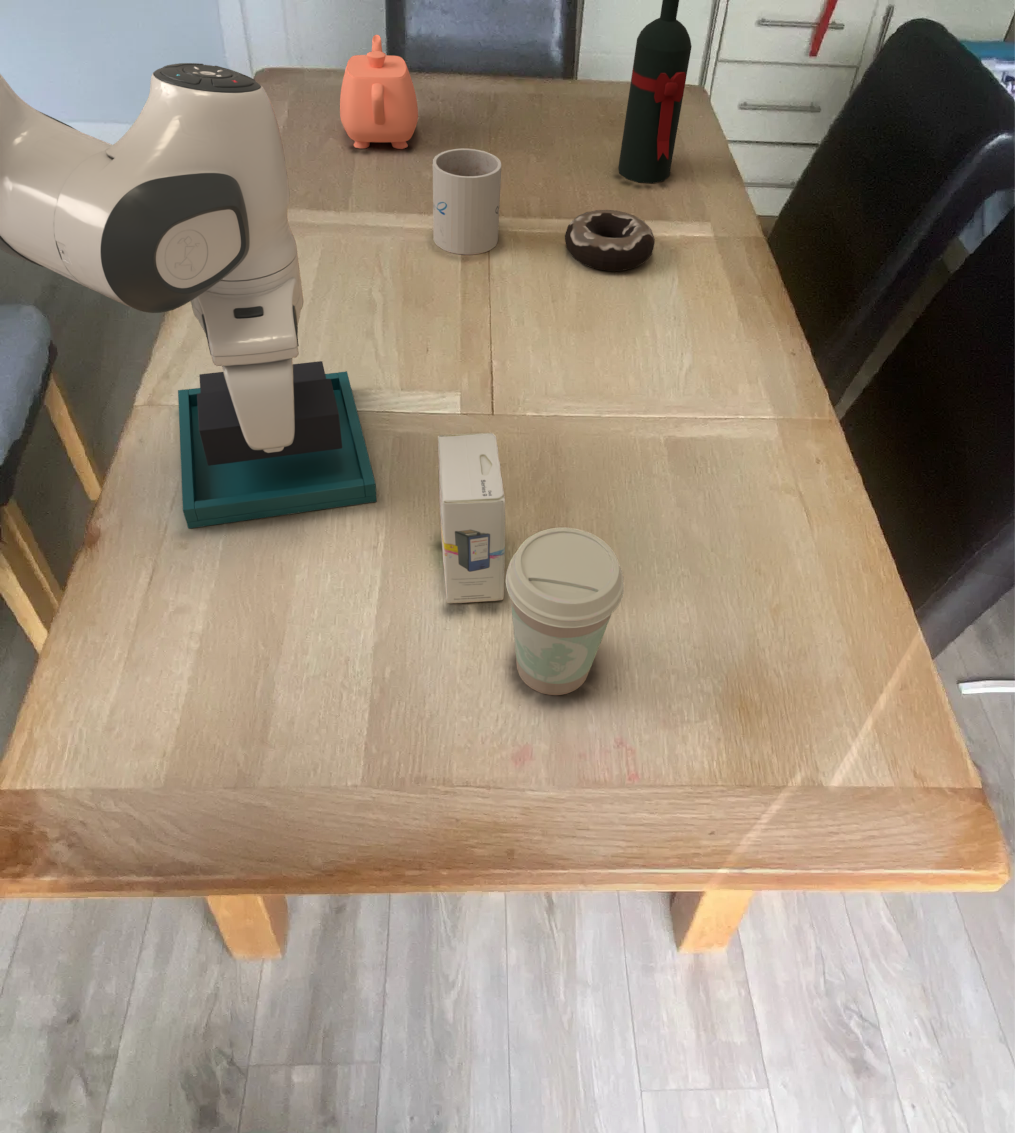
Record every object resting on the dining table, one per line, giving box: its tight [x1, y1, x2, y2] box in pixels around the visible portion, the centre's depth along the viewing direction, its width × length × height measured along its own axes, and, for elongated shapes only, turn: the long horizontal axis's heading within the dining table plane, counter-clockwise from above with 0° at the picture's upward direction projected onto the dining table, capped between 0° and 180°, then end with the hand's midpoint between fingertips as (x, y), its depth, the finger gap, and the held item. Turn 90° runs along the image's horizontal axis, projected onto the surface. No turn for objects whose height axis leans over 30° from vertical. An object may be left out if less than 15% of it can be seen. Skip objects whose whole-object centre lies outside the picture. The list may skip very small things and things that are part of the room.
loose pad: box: [197, 379, 342, 466], centre depth 82 cm, size 12×6×4 cm, turn 105°
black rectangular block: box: [198, 360, 326, 393], centre depth 90 cm, size 12×6×4 cm, turn 105°
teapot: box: [339, 34, 419, 150], centre depth 137 cm, size 20×12×12 cm, turn 6°
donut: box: [564, 209, 656, 272], centre depth 118 cm, size 12×12×4 cm
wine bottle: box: [618, 0, 692, 184], centre depth 126 cm, size 8×10×30 cm
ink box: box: [437, 432, 506, 604], centre depth 75 cm, size 9×5×12 cm, turn 6°
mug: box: [432, 148, 502, 256], centre depth 118 cm, size 12×9×10 cm
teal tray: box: [177, 370, 378, 529], centre depth 88 cm, size 17×18×2 cm
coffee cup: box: [505, 526, 625, 696], centre depth 68 cm, size 8×8×12 cm
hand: (270, 423), depth 82 cm, fingers closed on loose pad, 5 cm apart
